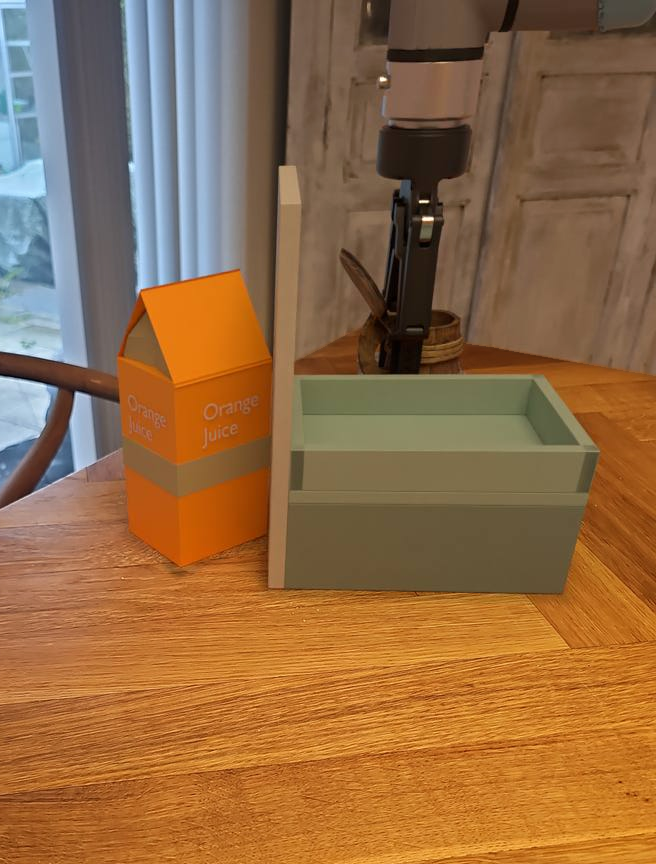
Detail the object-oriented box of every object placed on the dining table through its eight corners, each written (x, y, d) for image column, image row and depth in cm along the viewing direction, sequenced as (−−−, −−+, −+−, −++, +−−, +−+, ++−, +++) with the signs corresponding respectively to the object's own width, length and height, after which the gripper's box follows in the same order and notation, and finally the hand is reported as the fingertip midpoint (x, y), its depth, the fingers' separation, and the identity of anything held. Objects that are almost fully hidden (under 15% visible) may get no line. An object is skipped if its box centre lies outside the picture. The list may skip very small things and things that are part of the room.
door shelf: (516, 500, 75) (588, 158, 60) (563, 594, 63) (668, 195, 48) (268, 497, 77) (278, 165, 62) (268, 588, 65) (280, 203, 50)
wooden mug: (312, 424, 91) (323, 236, 80) (436, 410, 92) (463, 224, 82) (341, 459, 84) (357, 259, 73) (474, 444, 85) (509, 246, 74)
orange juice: (268, 534, 72) (276, 277, 60) (180, 568, 68) (170, 301, 56) (211, 500, 77) (208, 258, 66) (127, 530, 73) (108, 279, 62)
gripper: (369, 111, 81) (348, 360, 94) (393, 138, 65) (364, 433, 78) (453, 109, 80) (420, 359, 93) (498, 135, 64) (450, 433, 77)
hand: (394, 392), depth 86 cm, fingers closed on wooden mug, 7 cm apart
